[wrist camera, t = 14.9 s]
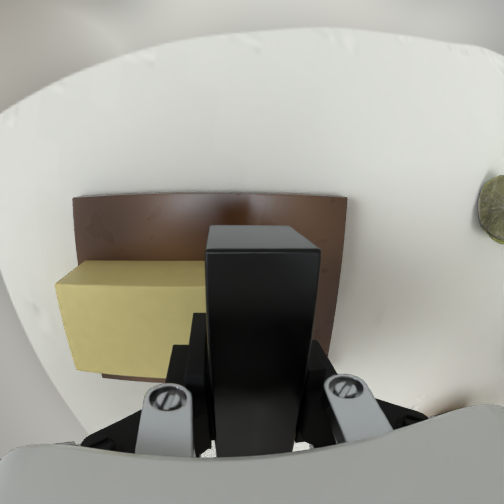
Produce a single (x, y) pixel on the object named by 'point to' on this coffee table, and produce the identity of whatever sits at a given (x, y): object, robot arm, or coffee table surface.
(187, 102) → the coffee table surface
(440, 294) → the coffee table surface
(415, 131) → the coffee table surface
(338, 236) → the butter board
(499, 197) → the lime
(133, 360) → the butter block
